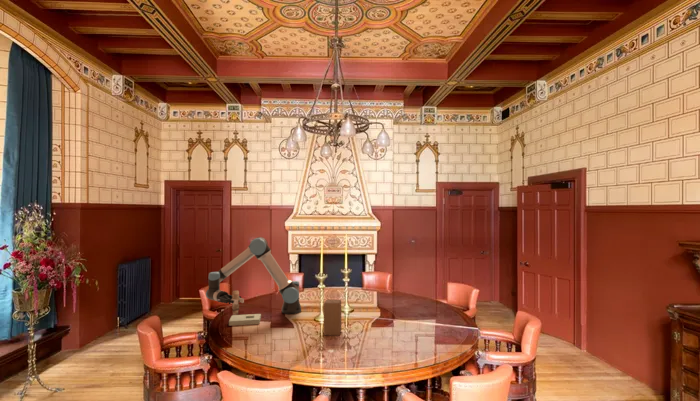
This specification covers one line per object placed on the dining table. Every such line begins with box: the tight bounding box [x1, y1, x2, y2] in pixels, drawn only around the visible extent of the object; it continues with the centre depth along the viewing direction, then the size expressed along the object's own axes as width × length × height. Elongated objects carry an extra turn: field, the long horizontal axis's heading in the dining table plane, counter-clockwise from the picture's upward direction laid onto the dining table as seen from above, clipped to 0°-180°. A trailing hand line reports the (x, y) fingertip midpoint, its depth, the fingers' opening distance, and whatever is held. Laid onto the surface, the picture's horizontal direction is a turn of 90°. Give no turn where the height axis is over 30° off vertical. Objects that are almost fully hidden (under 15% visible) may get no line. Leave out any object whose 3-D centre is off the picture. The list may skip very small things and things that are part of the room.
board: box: [228, 313, 262, 327], centre depth 246 cm, size 20×14×3 cm
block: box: [323, 298, 342, 337], centre depth 222 cm, size 10×10×20 cm
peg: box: [231, 290, 240, 315], centre depth 234 cm, size 4×4×15 cm
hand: (240, 301), depth 230 cm, fingers closed on peg, 4 cm apart
